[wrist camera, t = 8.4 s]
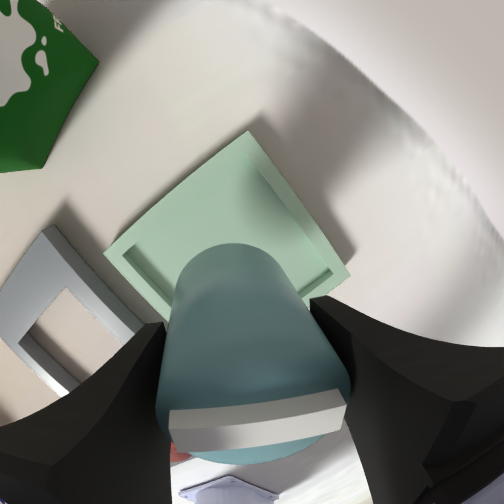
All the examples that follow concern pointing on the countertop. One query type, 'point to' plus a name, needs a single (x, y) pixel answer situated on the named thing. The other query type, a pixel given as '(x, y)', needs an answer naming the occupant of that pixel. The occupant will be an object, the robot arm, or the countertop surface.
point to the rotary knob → (245, 362)
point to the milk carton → (36, 81)
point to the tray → (227, 227)
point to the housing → (43, 294)
